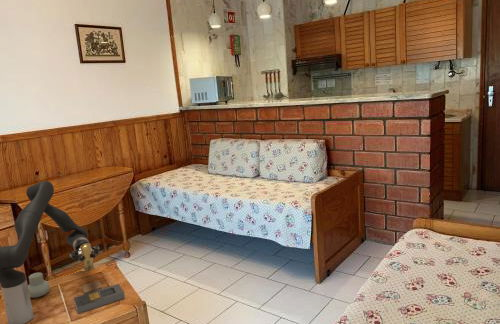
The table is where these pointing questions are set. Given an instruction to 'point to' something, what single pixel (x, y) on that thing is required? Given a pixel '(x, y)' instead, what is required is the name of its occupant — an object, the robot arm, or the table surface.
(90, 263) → the peg
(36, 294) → the air freshener
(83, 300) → the rack plate
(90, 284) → the pad
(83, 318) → the table surface
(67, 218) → the robot arm
